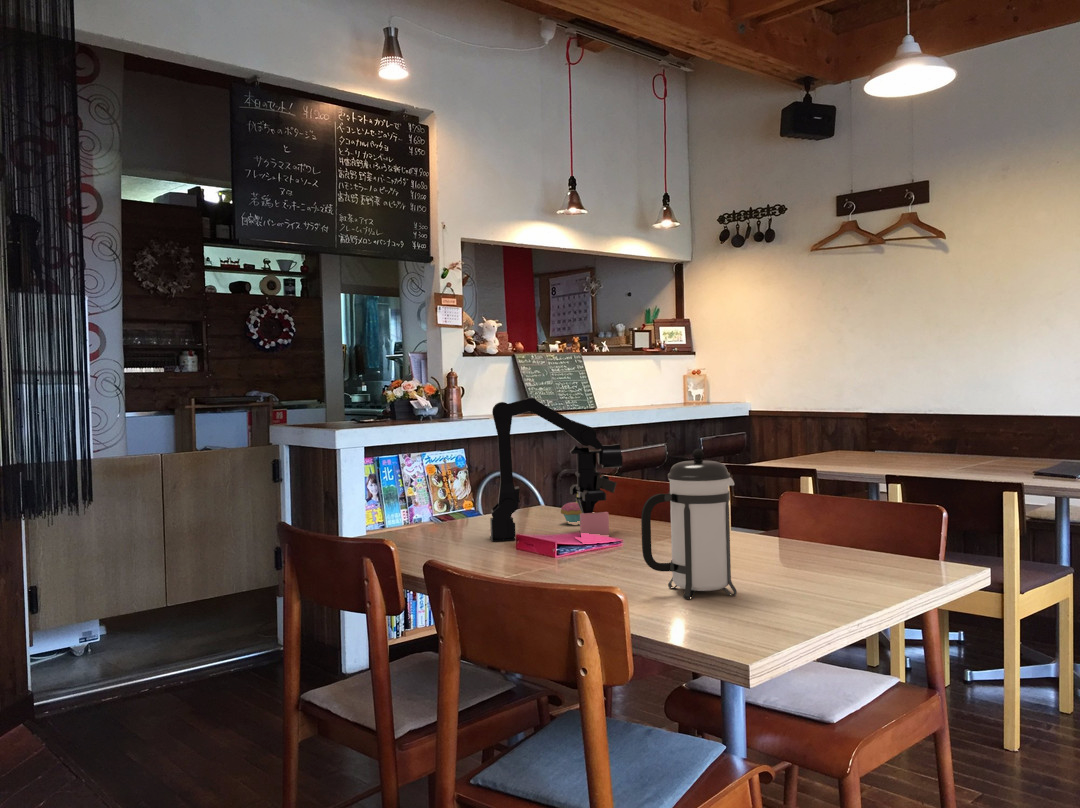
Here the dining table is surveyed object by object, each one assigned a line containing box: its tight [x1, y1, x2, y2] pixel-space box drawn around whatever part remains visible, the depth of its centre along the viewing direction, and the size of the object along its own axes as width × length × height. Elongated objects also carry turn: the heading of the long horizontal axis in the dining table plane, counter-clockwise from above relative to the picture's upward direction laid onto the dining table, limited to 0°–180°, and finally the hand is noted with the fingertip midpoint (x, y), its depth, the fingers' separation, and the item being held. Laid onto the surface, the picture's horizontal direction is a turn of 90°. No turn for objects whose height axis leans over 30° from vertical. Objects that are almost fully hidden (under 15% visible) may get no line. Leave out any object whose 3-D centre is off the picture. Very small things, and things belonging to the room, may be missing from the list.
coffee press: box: [640, 448, 738, 600], centre depth 176 cm, size 17×16×30 cm
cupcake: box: [560, 494, 582, 522], centre depth 267 cm, size 9×8×12 cm
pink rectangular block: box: [579, 511, 610, 536], centre depth 241 cm, size 8×2×7 cm, turn 102°
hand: (588, 522), depth 246 cm, fingers closed
